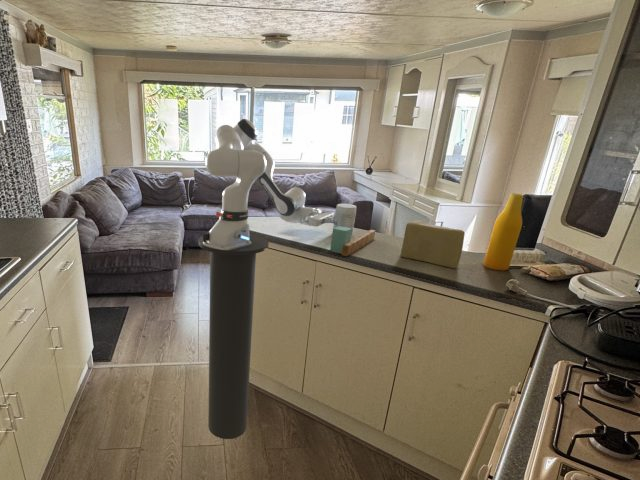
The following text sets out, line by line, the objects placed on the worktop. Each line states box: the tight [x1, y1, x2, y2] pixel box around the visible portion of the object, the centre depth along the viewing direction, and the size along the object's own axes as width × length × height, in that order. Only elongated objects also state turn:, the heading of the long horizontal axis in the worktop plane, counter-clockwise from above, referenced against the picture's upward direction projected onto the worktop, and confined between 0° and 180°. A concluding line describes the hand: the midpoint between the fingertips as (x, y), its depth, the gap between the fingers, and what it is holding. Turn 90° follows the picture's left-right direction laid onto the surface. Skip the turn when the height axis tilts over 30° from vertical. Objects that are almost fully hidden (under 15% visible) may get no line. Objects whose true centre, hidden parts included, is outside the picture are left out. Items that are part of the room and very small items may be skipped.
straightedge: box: [341, 229, 376, 257], centre depth 191 cm, size 34×2×4 cm, turn 145°
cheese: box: [400, 219, 466, 269], centre depth 174 cm, size 22×10×15 cm, turn 44°
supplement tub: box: [332, 203, 357, 237], centre depth 206 cm, size 10×10×15 cm
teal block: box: [329, 226, 352, 255], centre depth 183 cm, size 6×6×10 cm
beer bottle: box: [483, 193, 524, 272], centre depth 167 cm, size 9×9×29 cm
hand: (335, 221), depth 209 cm, fingers closed, pressing on supplement tub
